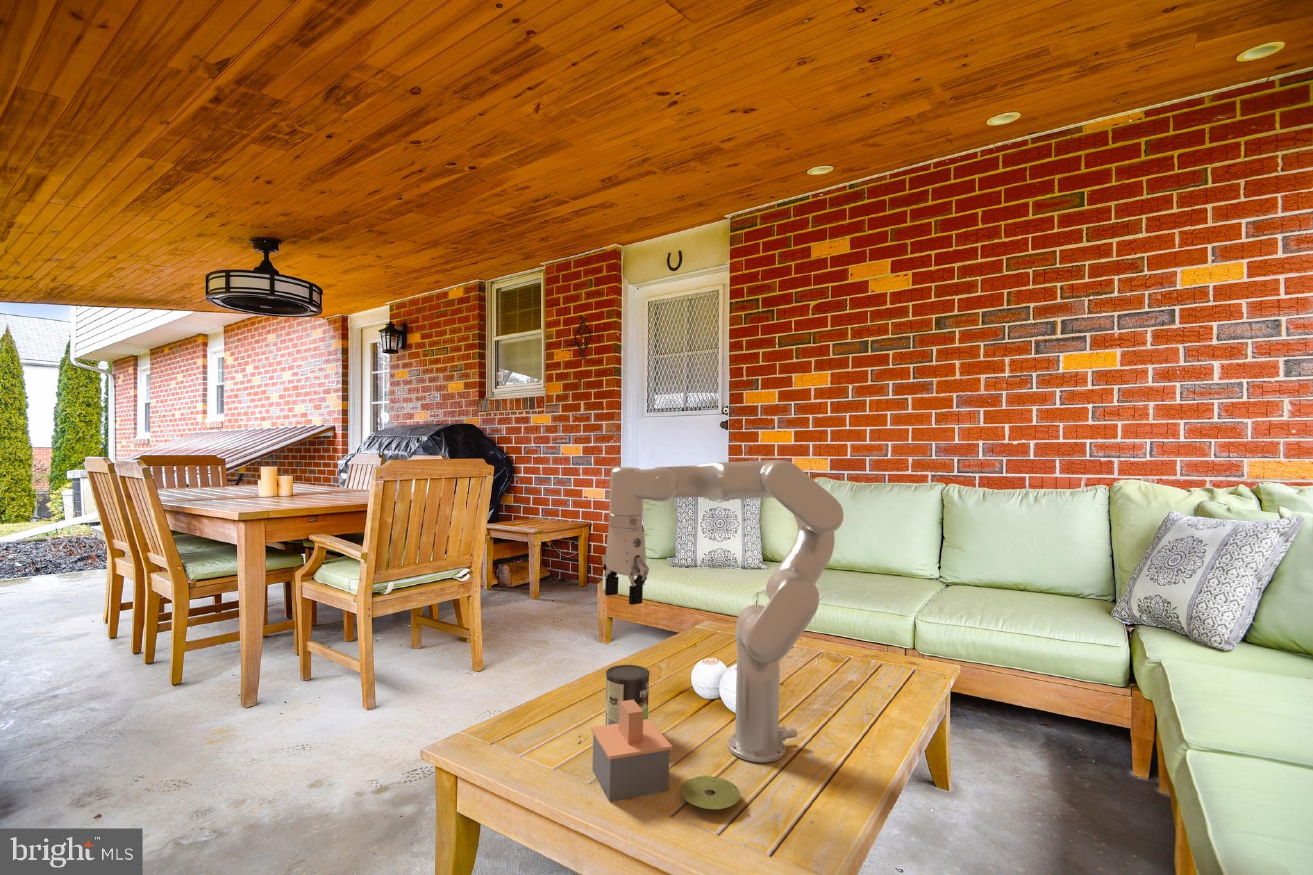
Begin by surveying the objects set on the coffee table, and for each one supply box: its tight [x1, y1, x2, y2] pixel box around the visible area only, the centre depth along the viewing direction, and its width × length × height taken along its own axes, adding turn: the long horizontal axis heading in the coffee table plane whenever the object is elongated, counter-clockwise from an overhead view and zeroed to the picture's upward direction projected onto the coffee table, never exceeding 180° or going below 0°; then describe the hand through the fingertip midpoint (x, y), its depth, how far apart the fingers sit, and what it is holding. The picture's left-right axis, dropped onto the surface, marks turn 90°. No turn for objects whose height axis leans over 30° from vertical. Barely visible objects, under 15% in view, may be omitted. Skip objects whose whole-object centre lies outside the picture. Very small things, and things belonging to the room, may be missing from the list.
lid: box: [590, 700, 673, 760], centre depth 121 cm, size 13×13×7 cm
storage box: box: [591, 733, 670, 802], centre depth 121 cm, size 12×12×8 cm
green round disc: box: [680, 775, 741, 810], centre depth 114 cm, size 11×11×2 cm
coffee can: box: [604, 664, 651, 725], centre depth 142 cm, size 10×10×14 cm
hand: (623, 599), depth 135 cm, fingers open, 9 cm apart
